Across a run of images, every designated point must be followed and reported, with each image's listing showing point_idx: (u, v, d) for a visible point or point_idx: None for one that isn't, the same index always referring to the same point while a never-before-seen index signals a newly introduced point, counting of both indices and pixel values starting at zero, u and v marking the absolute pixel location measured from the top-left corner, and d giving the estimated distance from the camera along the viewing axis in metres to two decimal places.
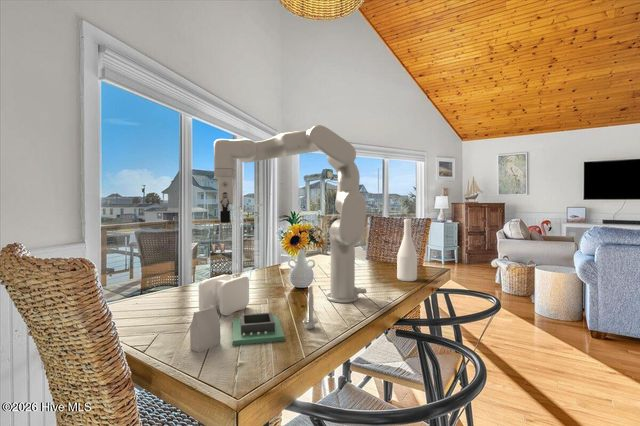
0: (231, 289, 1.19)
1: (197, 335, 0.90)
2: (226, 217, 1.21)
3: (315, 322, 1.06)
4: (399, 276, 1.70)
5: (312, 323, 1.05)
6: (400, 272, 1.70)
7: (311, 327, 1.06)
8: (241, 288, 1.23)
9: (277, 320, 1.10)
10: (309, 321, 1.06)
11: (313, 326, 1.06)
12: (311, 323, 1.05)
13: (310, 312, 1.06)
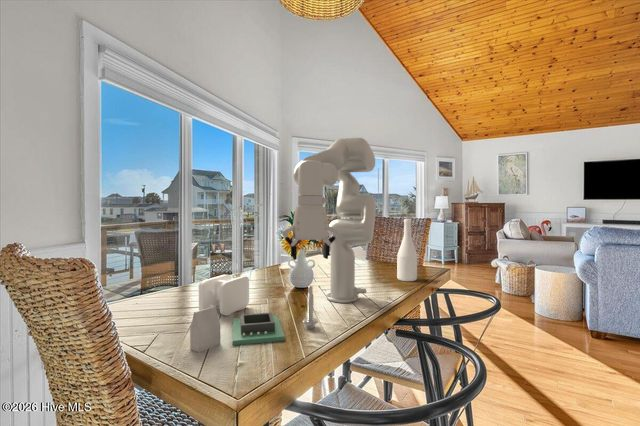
0: (231, 289, 1.19)
1: (197, 335, 0.90)
2: None
3: (315, 322, 1.06)
4: (399, 276, 1.70)
5: (312, 323, 1.05)
6: (400, 272, 1.70)
7: (311, 327, 1.06)
8: (241, 288, 1.23)
9: (277, 320, 1.10)
10: (309, 321, 1.06)
11: (313, 326, 1.06)
12: (311, 323, 1.05)
13: (310, 312, 1.06)
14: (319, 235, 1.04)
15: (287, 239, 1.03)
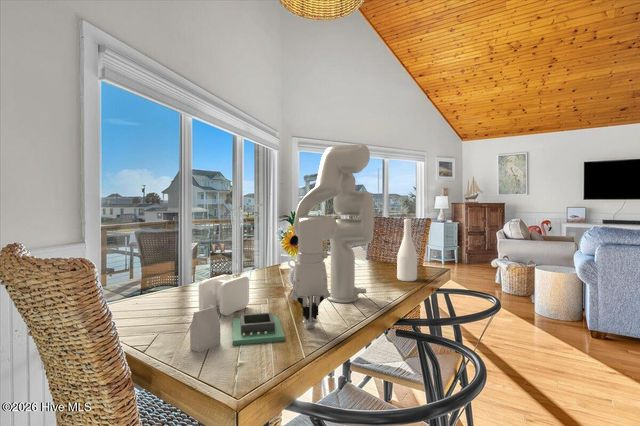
0: (231, 289, 1.19)
1: (197, 335, 0.90)
2: None
3: (315, 322, 1.06)
4: (399, 276, 1.70)
5: (312, 323, 1.05)
6: (400, 272, 1.70)
7: (311, 327, 1.06)
8: (241, 288, 1.24)
9: (277, 320, 1.10)
10: (309, 321, 1.06)
11: (313, 326, 1.06)
12: (311, 323, 1.05)
13: (310, 312, 1.06)
14: (319, 292, 1.05)
15: (299, 300, 1.05)
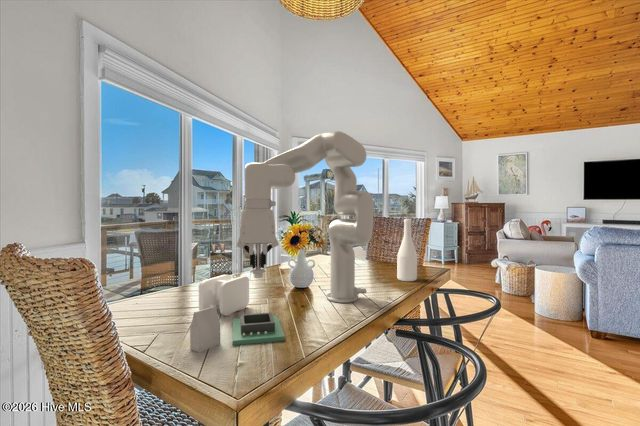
0: (231, 289, 1.19)
1: (197, 335, 0.90)
2: None
3: (262, 271, 1.02)
4: (399, 276, 1.70)
5: (259, 271, 1.02)
6: (400, 272, 1.70)
7: (258, 276, 1.03)
8: (241, 288, 1.23)
9: (277, 320, 1.10)
10: (256, 270, 1.02)
11: (261, 275, 1.03)
12: (258, 271, 1.02)
13: (257, 261, 1.03)
14: (266, 239, 1.02)
15: (245, 247, 1.02)
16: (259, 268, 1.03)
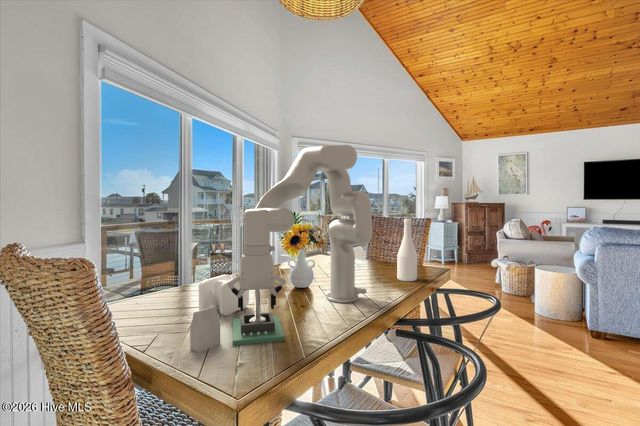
0: None
1: (197, 335, 0.90)
2: None
3: (262, 321, 1.03)
4: (399, 276, 1.70)
5: (258, 322, 1.02)
6: (400, 272, 1.70)
7: None
8: None
9: (277, 320, 1.10)
10: (256, 320, 1.03)
11: None
12: (257, 322, 1.02)
13: (257, 311, 1.04)
14: (265, 285, 1.02)
15: (233, 290, 1.01)
16: (258, 318, 1.04)
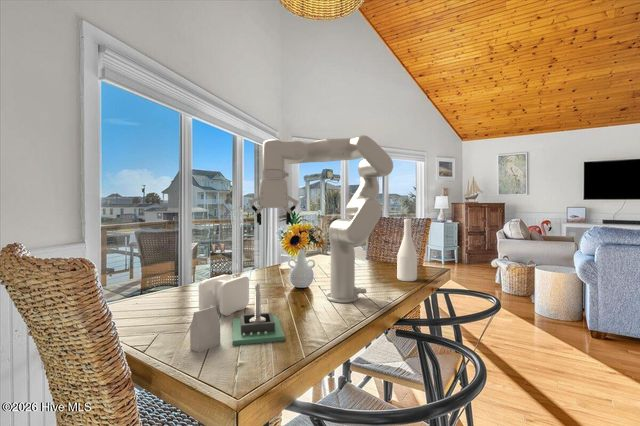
0: (231, 289, 1.19)
1: (197, 335, 0.90)
2: None
3: (262, 321, 1.03)
4: (400, 276, 1.70)
5: (258, 322, 1.02)
6: (400, 272, 1.70)
7: None
8: (241, 288, 1.23)
9: (277, 320, 1.10)
10: (256, 320, 1.03)
11: None
12: (257, 322, 1.02)
13: (257, 311, 1.04)
14: (281, 204, 1.22)
15: (253, 207, 1.21)
16: (259, 318, 1.04)
